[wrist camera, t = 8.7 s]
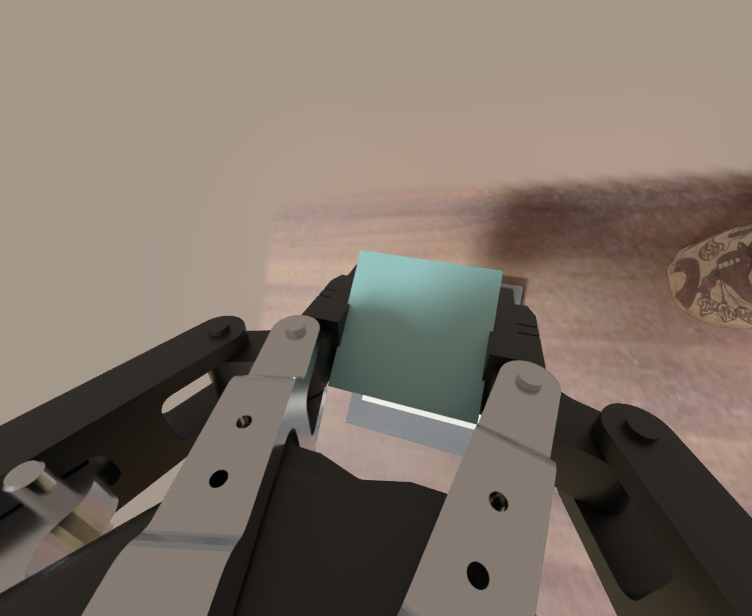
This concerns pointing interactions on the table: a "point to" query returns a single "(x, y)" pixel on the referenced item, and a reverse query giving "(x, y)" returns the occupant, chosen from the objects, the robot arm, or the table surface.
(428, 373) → the connector plug
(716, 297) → the figurine
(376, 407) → the end holder
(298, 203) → the table surface
